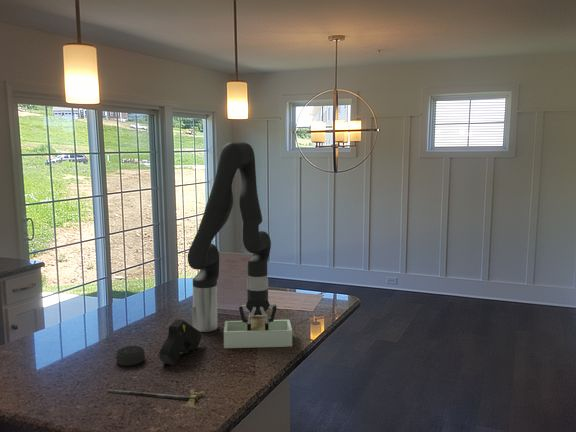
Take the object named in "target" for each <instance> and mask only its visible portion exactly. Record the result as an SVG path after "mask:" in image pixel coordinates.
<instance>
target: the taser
mask: <svg viewBox="0 0 576 432" xmlns="http://www.w3.org/2000/svg"><path fill="white" fill-rule="evenodd" d="M202 333H203V332H200V331H198V330H197V329H195V328H194V327H193V325H191V324H190V323H188V322H187V321H186V320H184V319H179V318H178V319H175V320H174V321H173V322H172V323H171V324H170V325H169V326H168V335H167V337H166V340H165V341H164V342H163V344H162V346H161V348H160V350H159V354H158V358H159V360H160V361H161V362H162V363H163V364H164V365H170V366H174V365H176V362H177V361H178V359H179V358H180V355H181V353H184V354H188V353H189V352H190V351H191V352H195V350H196V348H199V347H200V344H201V340H202V338H203V334H202Z"/></svg>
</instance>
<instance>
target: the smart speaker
mask: <svg viewBox="0 0 576 432" xmlns="http://www.w3.org/2000/svg"><path fill="white" fill-rule="evenodd" d="M145 353H146V351H145V349H144V348H143V347H141V346H138V345H128V346H124V347H121V348H120V349H118V350H117V351H116V353H115V357H116V358H115V359H116V363H117V364H118V365H119V366H122V367H132V366H137V365H139V364H141V363H143V362H144V361H145V357H146V356H145Z"/></svg>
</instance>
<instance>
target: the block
mask: <svg viewBox="0 0 576 432" xmlns="http://www.w3.org/2000/svg"><path fill="white" fill-rule="evenodd" d="M258 330H265V318H263V315H253V318H251V331H258Z"/></svg>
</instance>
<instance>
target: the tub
mask: <svg viewBox="0 0 576 432" xmlns="http://www.w3.org/2000/svg"><path fill="white" fill-rule="evenodd" d="M268 329H269V330H258V331H247V323H245V322H242V320H225V321H224V327H223V349H245V348H247V349H249V348H250V349H251V348H282V347H283V348H284V347H289V346H290V347H293V328H292V325H291V321H290V319H274V321H273V322H269V324H268Z"/></svg>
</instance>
